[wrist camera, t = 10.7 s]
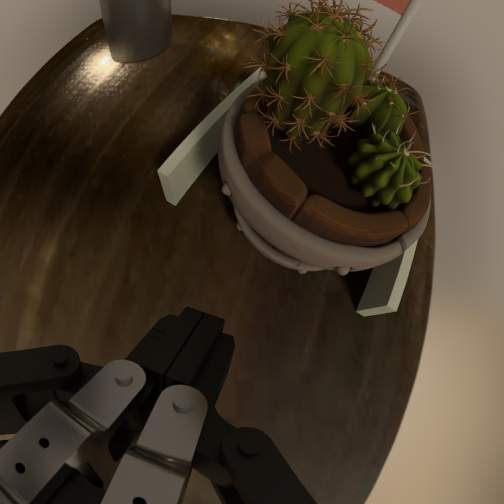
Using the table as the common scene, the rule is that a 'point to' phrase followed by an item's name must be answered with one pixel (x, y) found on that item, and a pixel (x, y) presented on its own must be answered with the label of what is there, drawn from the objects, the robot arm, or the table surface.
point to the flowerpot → (324, 150)
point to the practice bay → (206, 146)
